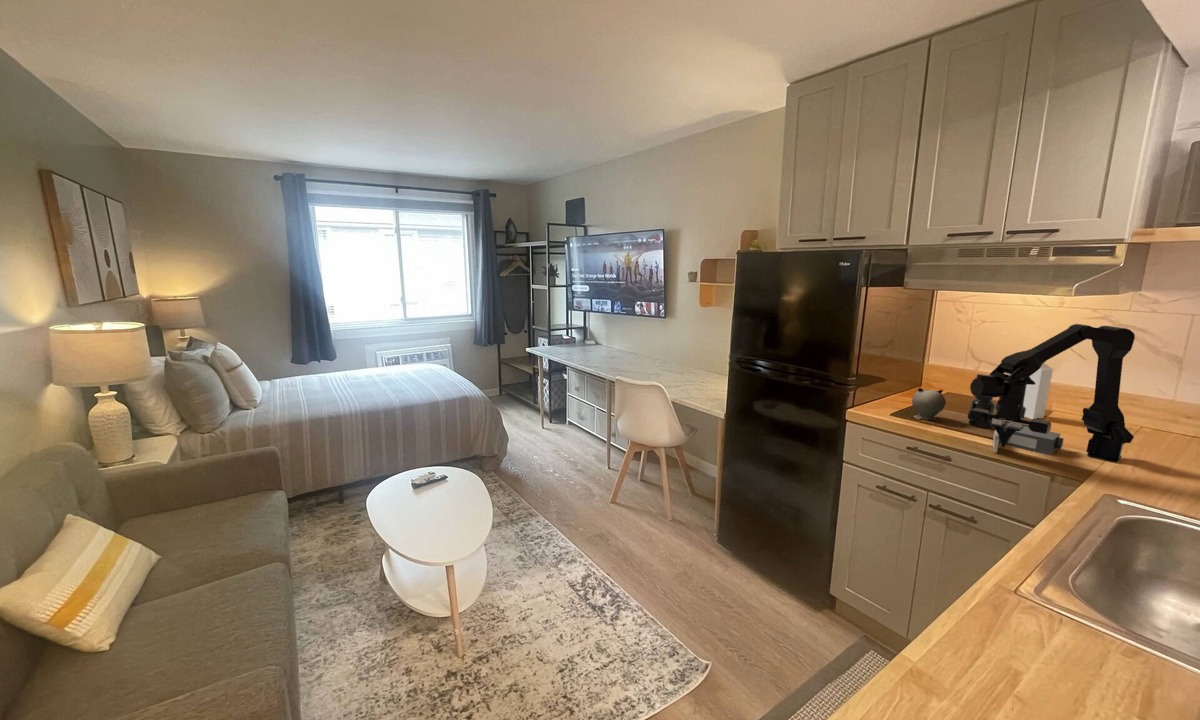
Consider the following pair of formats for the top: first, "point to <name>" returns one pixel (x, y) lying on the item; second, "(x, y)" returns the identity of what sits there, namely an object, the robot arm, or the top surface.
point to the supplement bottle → (982, 404)
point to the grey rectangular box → (1035, 441)
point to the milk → (1038, 393)
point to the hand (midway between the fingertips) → (1003, 446)
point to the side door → (995, 442)
